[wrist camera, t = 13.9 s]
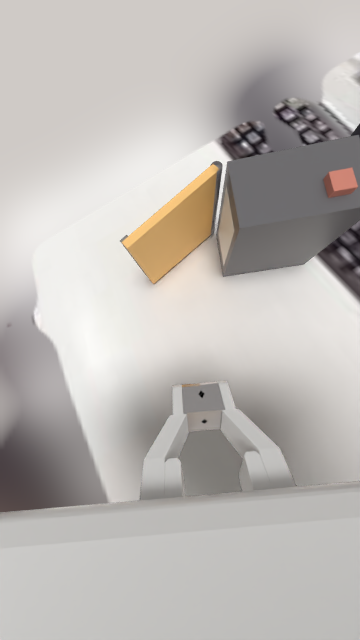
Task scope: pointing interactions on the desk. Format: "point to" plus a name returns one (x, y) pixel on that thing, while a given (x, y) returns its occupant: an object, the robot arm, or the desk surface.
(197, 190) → the side door
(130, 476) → the desk surface
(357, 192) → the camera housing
